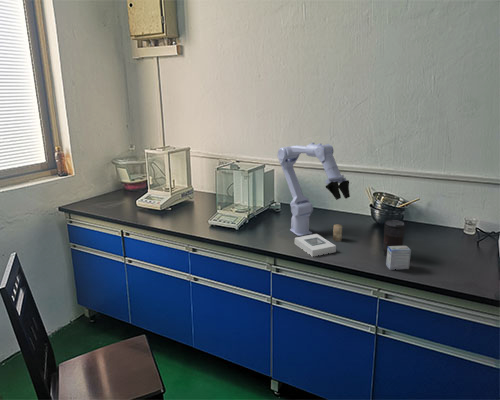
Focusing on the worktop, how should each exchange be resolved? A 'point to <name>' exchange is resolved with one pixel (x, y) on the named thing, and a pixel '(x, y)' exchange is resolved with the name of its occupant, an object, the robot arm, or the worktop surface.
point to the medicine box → (398, 257)
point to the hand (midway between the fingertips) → (343, 198)
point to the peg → (337, 232)
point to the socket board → (315, 245)
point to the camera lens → (393, 234)
